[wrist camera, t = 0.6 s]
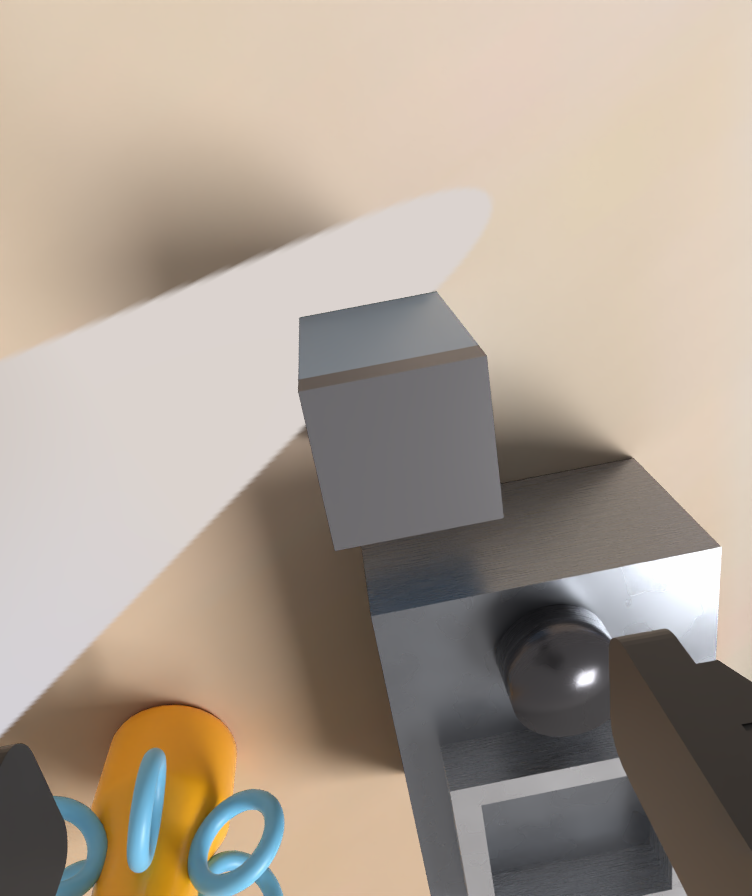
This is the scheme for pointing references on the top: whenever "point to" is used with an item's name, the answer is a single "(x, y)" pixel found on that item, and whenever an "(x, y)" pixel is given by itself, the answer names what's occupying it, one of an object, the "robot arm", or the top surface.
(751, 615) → the top surface
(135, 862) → the cylinder
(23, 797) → the robot arm
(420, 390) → the grey lidded box
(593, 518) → the grey boxy piece
